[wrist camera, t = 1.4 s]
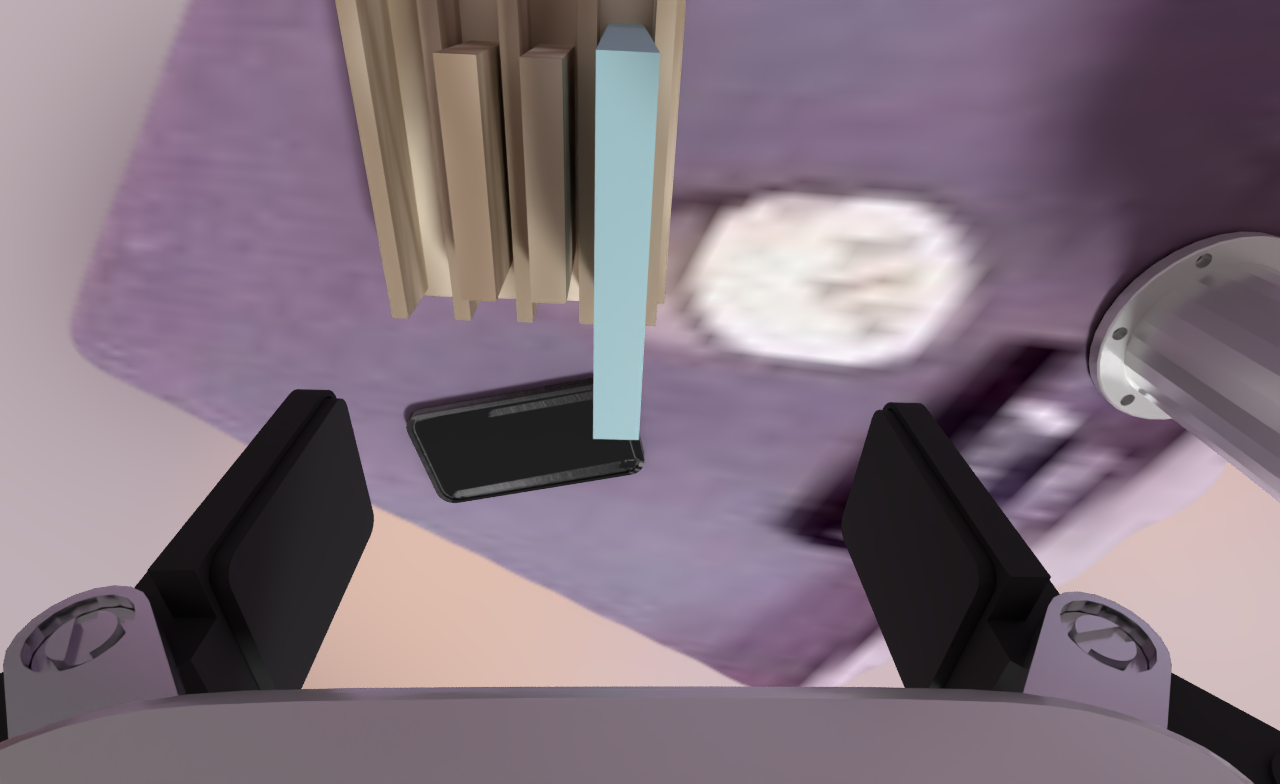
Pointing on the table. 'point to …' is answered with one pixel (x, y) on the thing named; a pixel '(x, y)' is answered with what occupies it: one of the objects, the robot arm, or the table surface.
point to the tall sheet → (622, 222)
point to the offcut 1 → (476, 164)
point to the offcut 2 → (549, 168)
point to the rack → (413, 146)
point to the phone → (518, 443)
